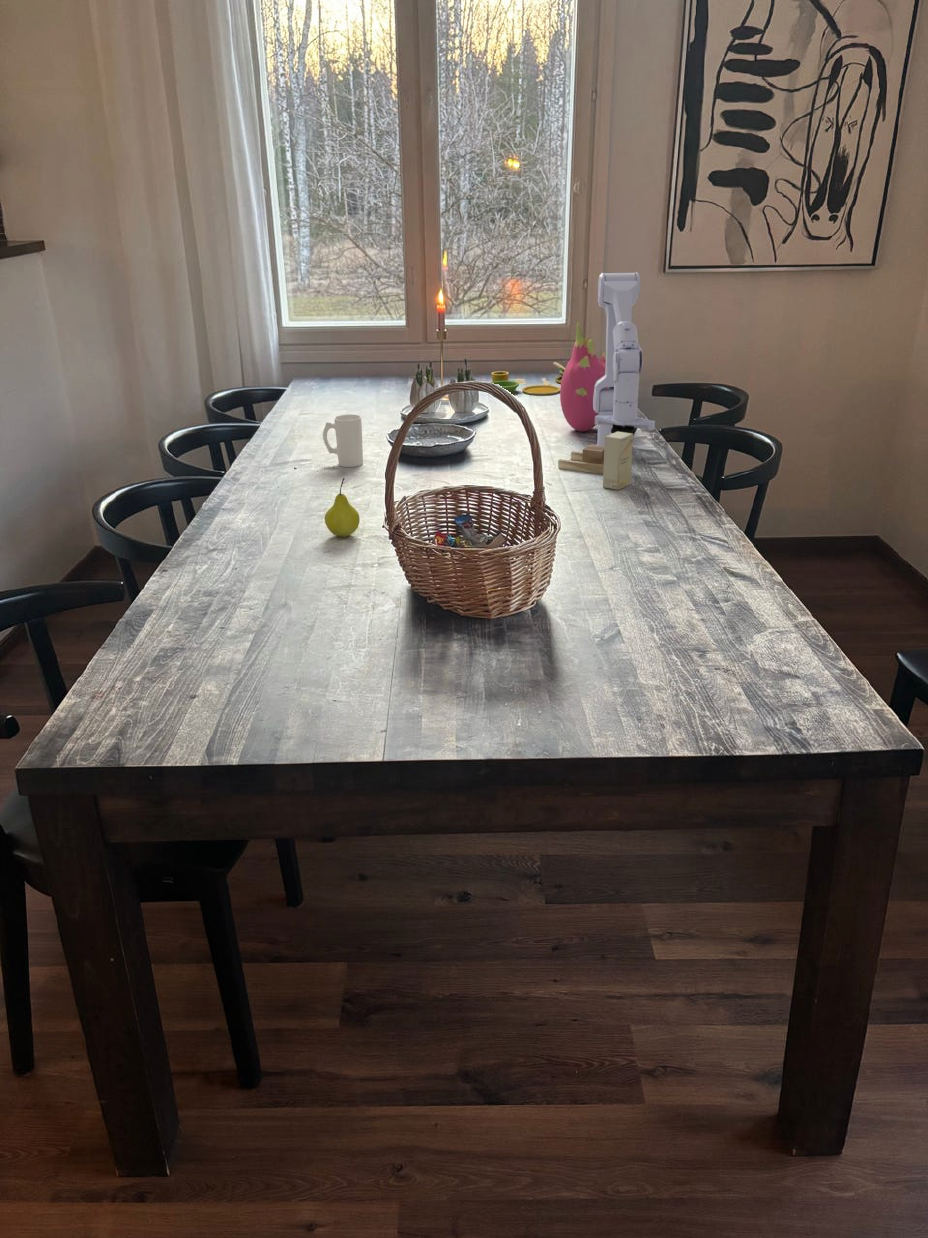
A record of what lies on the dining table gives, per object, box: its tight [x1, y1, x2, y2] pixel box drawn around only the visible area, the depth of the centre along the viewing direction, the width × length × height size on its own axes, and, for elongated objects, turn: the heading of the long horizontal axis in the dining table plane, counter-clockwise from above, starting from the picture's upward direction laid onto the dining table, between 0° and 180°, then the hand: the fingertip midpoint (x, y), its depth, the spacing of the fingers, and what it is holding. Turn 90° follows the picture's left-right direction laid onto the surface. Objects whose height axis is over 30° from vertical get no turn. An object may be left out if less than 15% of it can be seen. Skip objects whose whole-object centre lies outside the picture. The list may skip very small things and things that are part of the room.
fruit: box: [323, 477, 361, 538], centre depth 196 cm, size 7×7×12 cm
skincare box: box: [602, 431, 634, 491], centre depth 223 cm, size 6×4×12 cm
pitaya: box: [559, 321, 611, 432], centre depth 265 cm, size 18×14×30 cm
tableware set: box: [490, 361, 566, 396], centre depth 325 cm, size 41×28×6 cm
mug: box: [322, 413, 364, 468], centre depth 244 cm, size 10×7×12 cm, turn 86°
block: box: [581, 444, 604, 465], centre depth 239 cm, size 5×5×5 cm
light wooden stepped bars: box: [557, 450, 604, 475], centre depth 240 cm, size 9×12×2 cm
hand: (622, 456), depth 235 cm, fingers closed
